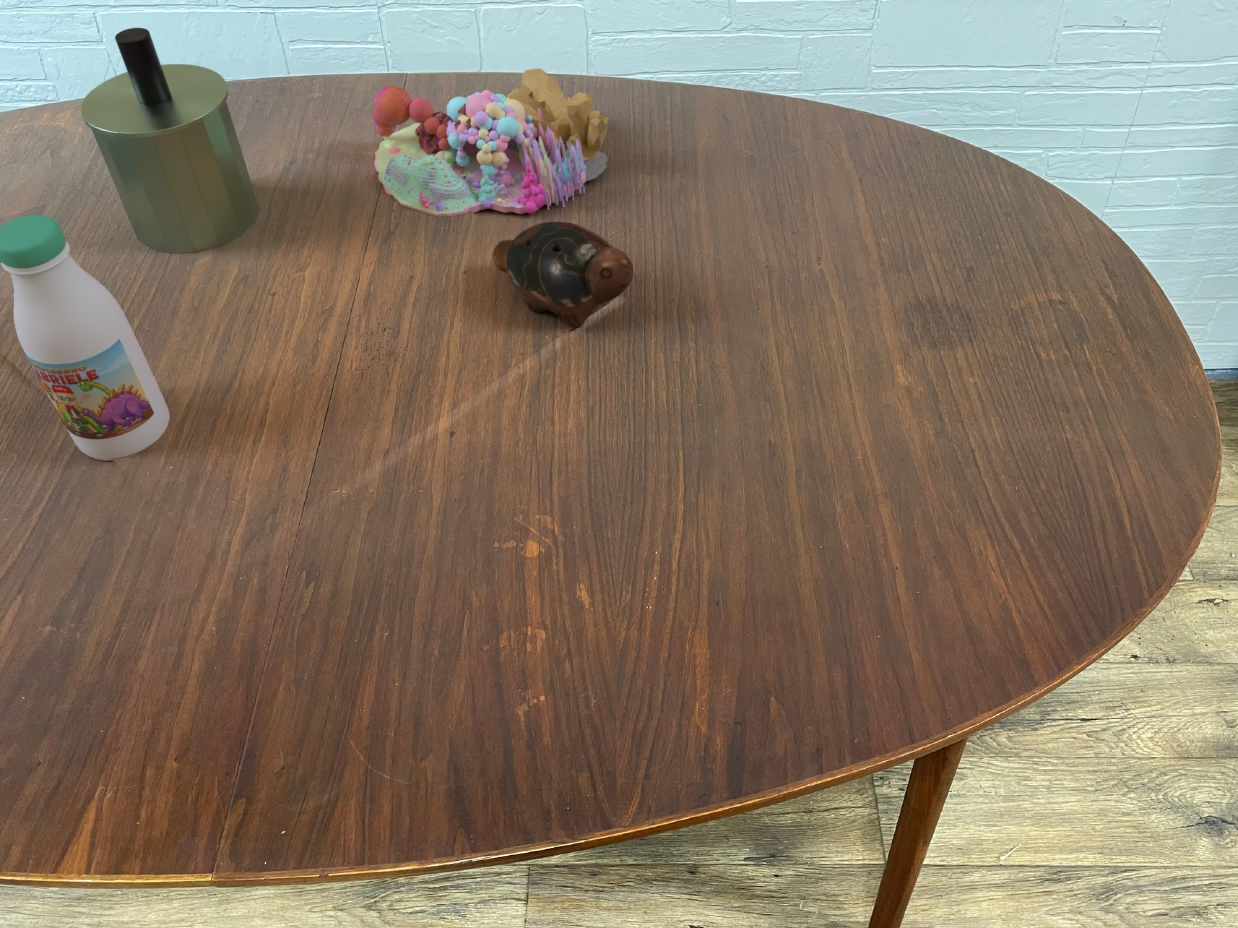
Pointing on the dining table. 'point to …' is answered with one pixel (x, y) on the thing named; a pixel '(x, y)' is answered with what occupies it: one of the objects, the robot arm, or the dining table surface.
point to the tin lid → (152, 93)
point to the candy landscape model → (489, 148)
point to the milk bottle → (80, 344)
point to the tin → (184, 185)
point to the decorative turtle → (563, 269)
